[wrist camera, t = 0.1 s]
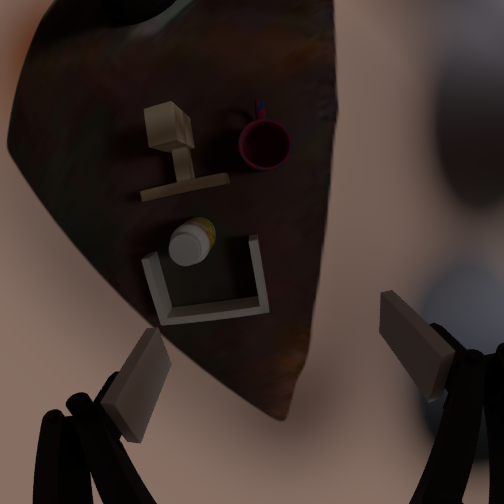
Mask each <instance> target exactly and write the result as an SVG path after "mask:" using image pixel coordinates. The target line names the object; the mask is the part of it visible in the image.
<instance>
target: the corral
mask: <svg viewBox="0 0 504 504" xmlns="http://www.w3.org/2000/svg"><path fill="white" fill-rule="evenodd" d="M249 246H250V252H251V258H252V263H253V269H254V275H255V280H256V286H257V292H258V296H254V297H247V298H240V299H233V300H226V301H219V302H211V303H204V304H196V305H188V306H179V307H172V305H171V301H170V298H169V294H168V291H167V287H166V284H165V280H164V277H163V273H162V269H161V265H160V261H159V257H158V253H157V251H156V252H150V253H149V254H148V255H147V256H145V257H144V258H143V259H141V260H142V264H143V268H144V271H145V275H146V278H147V282H148V285H149V289H150V292H151V295H152V298H153V302H154V305H155V308H156V311H157V314H158V317H159V320H160V323H161V325H172V324H182V323H192V322H201V321H209V320H218V319H226V318H233V317H241V316H248V315H255V314H262V313H268V312H269V305H268V297H267V291H266V285H265V279H264V273H263V267H262V261H261V255H260V249H259V243H258V237H257V234H255V235H249Z"/></svg>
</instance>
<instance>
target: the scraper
mask: <svg viewBox="0 0 504 504" xmlns="http://www.w3.org/2000/svg"><path fill="white" fill-rule="evenodd" d="M144 115H145V123H146V130H147V137H148V144H149V148H153V149H157V150H161V151H165V152H169V153H172V156H173V162H174V168H175V174H176V179H177V183H173V184H168V185H164V186H160V187H156V188H152V189H148V190H144V191H140V193H141V199H142V202H144V201H148V200H152V199H157V198H161V197H165V196H170V195H174V194H179V193H183V192H188V191H193V190H197V189H202V188H207V187H212V186H218V185H223V184H228V183H230V182H229V177H228V173H220V174H215V175H210V176H205V177H200V178H195V176H194V171H193V165H192V159H191V153H190V149H194V148H195V147H194V142H193V135H192V129H191V123H190V117H188V116H187V115H186V114H185V113H184V112H183V111H182V110H181V109H179V108H178V107H177V106H176V105H175V104H174V103H173V102H172V101H169V102H166V103H162V104H159V105H156V106H152V107H149V108H146V109H144Z"/></svg>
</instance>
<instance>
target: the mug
mask: <svg viewBox="0 0 504 504" xmlns="http://www.w3.org/2000/svg"><path fill="white" fill-rule="evenodd" d="M255 113H256V120H254V121H252V122H250V123H249V124H248V125H246V126H245V127H244V129H243V130H242V132H241V133H240V136H239V140H238V149H239V153H240V155H241V157H242V159H243V160H244V162H245V163H246V164H247V165H248V166H249V167H250V168H252V169H254V170H256V171H260V172H267V171H271V170H274V169H276V168H278V167H280V166H282V165H283V164H284V163H285V162H286V161H287V160H288V158H289V157H290V155H291V152H292V138H291V135H290V133H289V131H288V130H287V129H286V127H285V126H284V125H282V124H281V123H279V122H278V121H276V120H272V119H267V118H266V115H265V108H264V102H263V100H262V99H256V100H255Z"/></svg>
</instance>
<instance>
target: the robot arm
mask: <svg viewBox="0 0 504 504" xmlns="http://www.w3.org/2000/svg"><path fill="white" fill-rule="evenodd" d="M175 1H176V0H102V4H103V8H104V11H105V13H106V15H107V16H108V17H109V18H110V19H111V20H112V21H114V22H116V23H118V24H135V23H139V22H143V21H146V20H148V19H150V18H153V17H155V16H157V15H158V14H160V13H162V12H163V11H165V10H166V9H167V8H168V7H170V6H171V5H172V4H173V3H174V2H175ZM380 302H381V303H380V327H379V333H380V334H381V335H382V337H383V338H384V340H385V341H386V342H387V344H388V345H389V346H390V348H391V349H392V351H393V352H394V353H395V355H396V356H397V358H398V359H399V361H400V362H401V363H402V365H403V366H404V368H405V369H406V371H407V372H408V373H409V375H410V376H411V378H412V379H413V381H414V382H415V384H416V385H417V387H418V388H419V390H420V391H421V392H422V394H423V396H424V397H425V399H426V400H427V402H428V403H429V402H431V401H433V400H436V399H438V398H440V397H441V396H442V394H443V391H444V388H445V389H446V390H447V392H448V395H447V398H446V401H445V403H444V406H443V409H444V411H443V415H442V418H441V422H440V426H439V429H438V432H437V435H436V438H435V442H434V445H433V448H432V450H431V453H430V456H429V459H428V462H427V464H426V467H425V469H424V472H423V474H422V476H421V479H420V481H419V483H418V486H417V488H416V490H415V492H414V495H413V497H412V499H411V501H410V503H409V504H463V503H462V497H463V494H464V491H465V488H466V485H467V482H468V478H469V475H470V471H471V467H472V464H473V459H474V455H475V451H476V446H477V441H478V435H479V429H480V423H481V416H482V407H483V406H484V413H485V419H486V427H487V436H488V447H489V465H490V466H489V468H490V488H489V489H490V490H489V504H504V343H501V344H500V345H498V347H497V350H496V353H494V354H489V355H483V353H482V352H480V351H478V350H474V349H468V350H467V349H466V348H464V347H463V346H462V345H461V344H460V343H459V342H458V341H457V340H456V339H455V338H454V337H452V335H451V334H450V333H449V332H448V331H447V330H446V329H444V328H443V327H442V326H440V325H438V324H436V323H432V324H428V323H427V322H426V321H425V320H424V319H423V318H422V317H421V316H419V315H418V314H417V313H416V312H415V311H414V310H413V309H412V308H411V307H410V306H409V305H408V304H407V303H405V301H403V300H402V299H401V298H400V297H399V296H398V295H397V294H396V293H395V292H394V291H392V290H390V291H386V292H382V293H381V301H380ZM171 364H172V363H171V361H170V358H169V356H168V353H167V350H166V348H165V345H164V342H163V340H162V337H161V334H160V331H159V329H158V327H156V328H147V329H146V330H145V332H144V333H143V335H142V337H141V338H140V340H139V341H138V343H137V344H136V346H135V347H134V349H133V351H132V352H131V354H130V355H129V357H128V358H127V360H126V362H125V364H124V365H123V366H122V368H121V370H120V371H119V372H114V373H113V374H112V375H111V376H110V377H109V378H108V379H107V381H106V383H105V385H104V386H103V387H102V390H100V392H99V393H98V395H97V397H96V398H95V400H94V402H92V400H91V399H90V397H89V396H88V394H86V393H83V392H81V393H76V394H74V395H72V396H71V397H70V398H69V399H68V400H67V402H66V407H67V408H68V410H69V411H70V413H71V414H72V416H66V417H65V416H64V415H63V414H62V412H61V411H60V410H57V409H54V410H50V411H48V412H47V413H46V414H45V415H44V417H43V419H42V423H41V429H40V435H39V441H38V447H37V455H36V462H35V472H34V484H33V485H34V486H33V504H93V496H92V487H91V475H92V478H93V480H94V483H95V485H96V488H97V490H98V493H99V495H100V497H101V500H102V502H103V504H157V503H156V502H155V500H154V499H153V497H152V496H151V494H150V493H149V491H148V490H147V488H146V486H145V485H144V483H143V481H142V480H141V478H140V476H139V475H138V473H137V471H136V469H135V467H134V466H133V464H132V462H131V460H130V458H129V456H128V454H127V452H126V450H125V449H124V446H123V444H122V443H121V442H120V440H119V439H120V437H121V435H123V437H124V438H125V439H126V440H127V442H133V443H141V441H142V439H143V436H144V433H145V431H146V428H147V425H148V423H149V420H150V417H151V415H152V412H153V410H154V407H155V404H156V402H157V399H158V397H159V394H160V392H161V389H162V387H163V384H164V381H165V379H166V377H167V374H168V372H169V369H170V367H171ZM90 472H91V475H90Z"/></svg>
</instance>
